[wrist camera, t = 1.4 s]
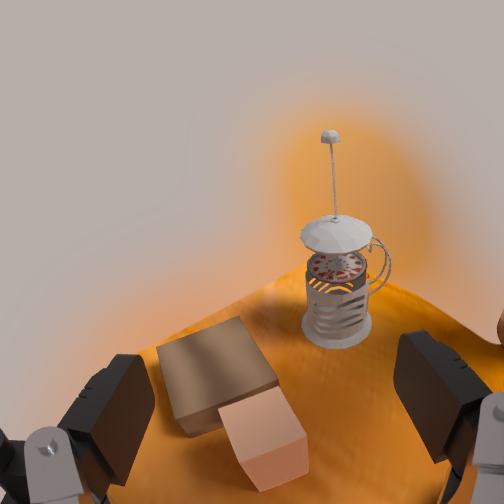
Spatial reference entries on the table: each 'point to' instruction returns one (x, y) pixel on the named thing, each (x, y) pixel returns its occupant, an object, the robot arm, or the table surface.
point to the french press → (338, 276)
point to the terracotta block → (267, 439)
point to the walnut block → (212, 374)
